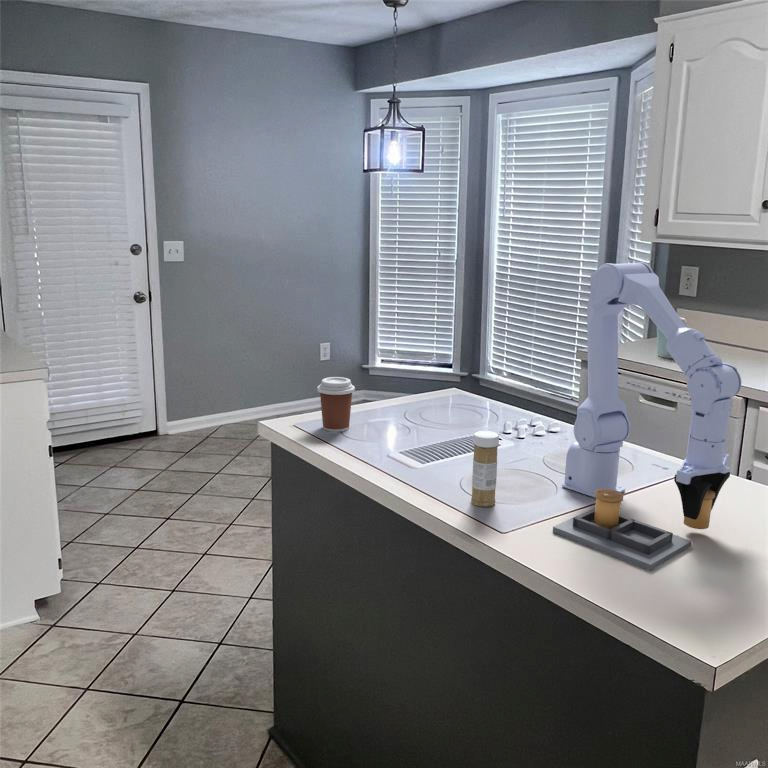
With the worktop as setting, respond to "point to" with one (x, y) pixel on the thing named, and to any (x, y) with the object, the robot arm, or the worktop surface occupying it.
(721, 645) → the worktop surface
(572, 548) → the worktop surface
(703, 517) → the jaw peg
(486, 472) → the sprinkles bottle
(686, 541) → the housing
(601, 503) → the jaw peg
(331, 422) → the coffee cup
